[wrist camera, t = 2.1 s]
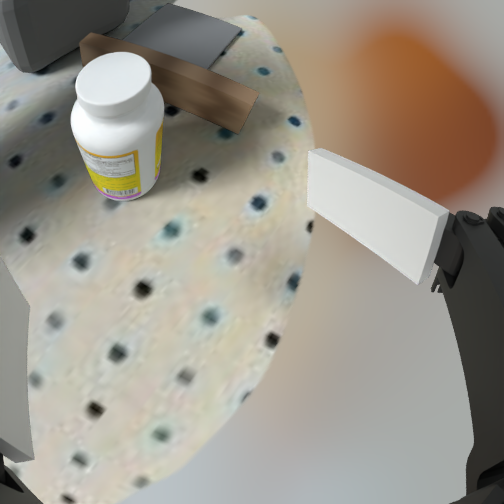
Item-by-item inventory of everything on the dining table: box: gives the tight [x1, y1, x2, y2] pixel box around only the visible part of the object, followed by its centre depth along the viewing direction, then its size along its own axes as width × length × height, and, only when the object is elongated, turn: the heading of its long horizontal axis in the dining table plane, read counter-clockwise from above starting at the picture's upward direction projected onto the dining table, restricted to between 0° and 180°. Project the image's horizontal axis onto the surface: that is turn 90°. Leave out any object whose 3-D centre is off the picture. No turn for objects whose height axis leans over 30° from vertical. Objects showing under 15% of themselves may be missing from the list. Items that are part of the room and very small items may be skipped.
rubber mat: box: [123, 3, 242, 70], centre depth 32 cm, size 12×11×1 cm
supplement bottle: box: [71, 52, 164, 201], centre depth 20 cm, size 7×7×13 cm
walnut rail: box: [79, 33, 259, 134], centre depth 27 cm, size 20×2×5 cm, turn 68°
